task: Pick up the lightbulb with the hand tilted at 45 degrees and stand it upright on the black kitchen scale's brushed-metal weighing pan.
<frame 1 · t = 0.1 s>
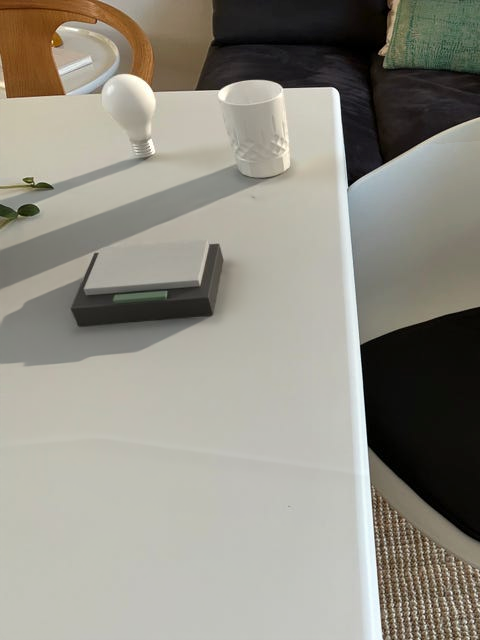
lightbulb: (146, 158, 105), on the table
white cup: (265, 167, 103), on the table
scale: (154, 291, 81), on the table
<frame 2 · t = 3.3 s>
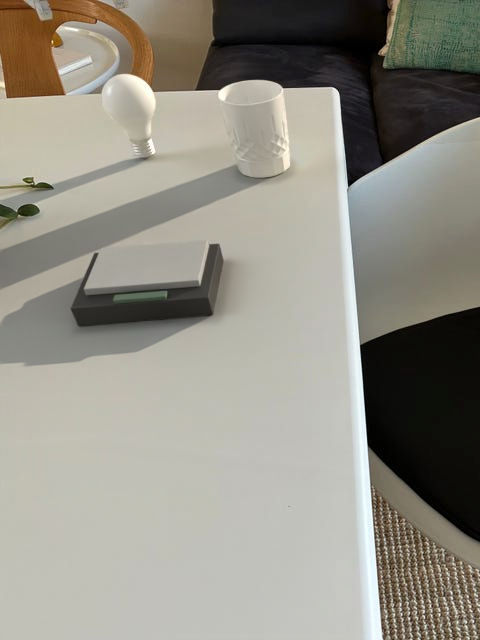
hand: (85, 11, 102), 16 cm above the table, tool tilted 45°, fingers open, 8 cm apart
nothing on the table moved.
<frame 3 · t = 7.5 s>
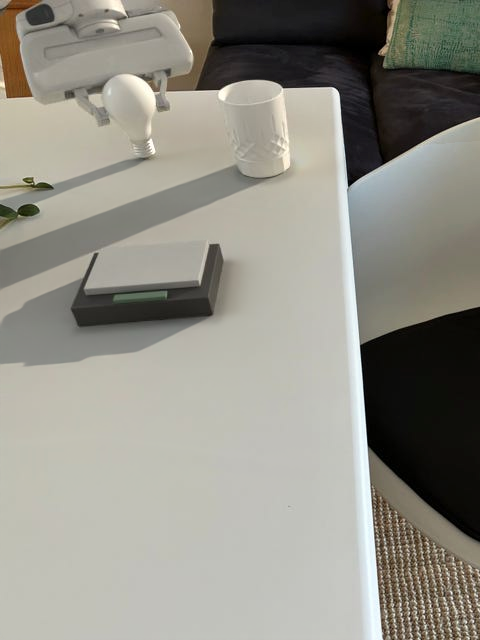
hand: (134, 116, 100), 6 cm above the table, tool tilted 45°, fingers closed on lightbulb, 6 cm apart
lightbulb: (146, 158, 105), on the table, touching gripper
everything else where it was.
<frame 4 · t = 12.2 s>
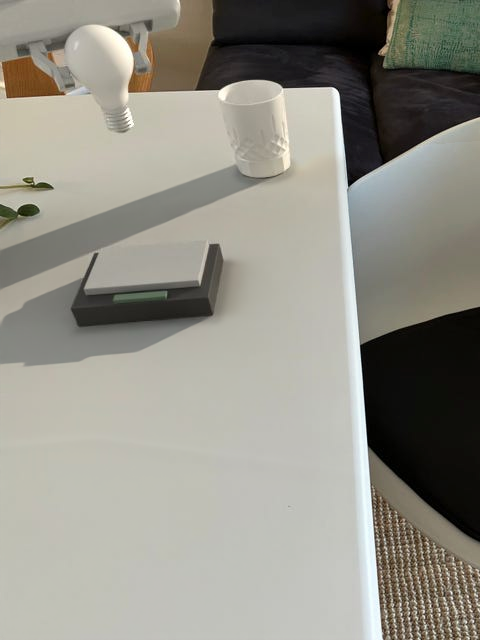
hand: (106, 79, 80), 17 cm above the table, tool tilted 45°, fingers closed on lightbulb, 6 cm apart
lightbulb: (123, 133, 84), point 11 cm above the table, touching gripper
everything else where it was.
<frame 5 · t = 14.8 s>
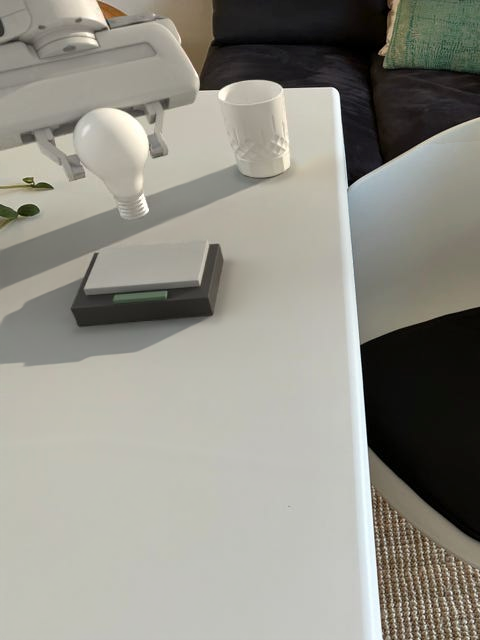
hand: (119, 166, 73), 14 cm above the table, tool tilted 45°, fingers closed on lightbulb, 6 cm apart
lightbulb: (137, 219, 77), point 8 cm above the table, touching gripper
everything else where it was.
when the fingers open (9 cm above the table, at t = 16.9 s): lightbulb stays where it is, resting on scale.
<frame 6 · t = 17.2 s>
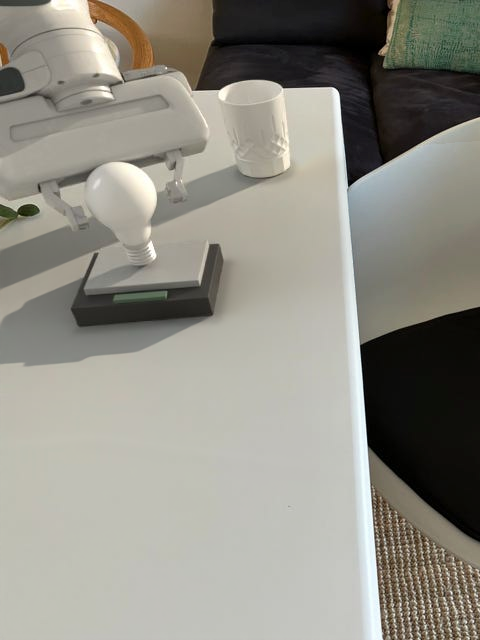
hand: (132, 213, 75), 9 cm above the table, tool tilted 45°, fingers open, 8 cm apart
lightbulb: (144, 264, 80), point 3 cm above the table, touching scale
everything else where it was.
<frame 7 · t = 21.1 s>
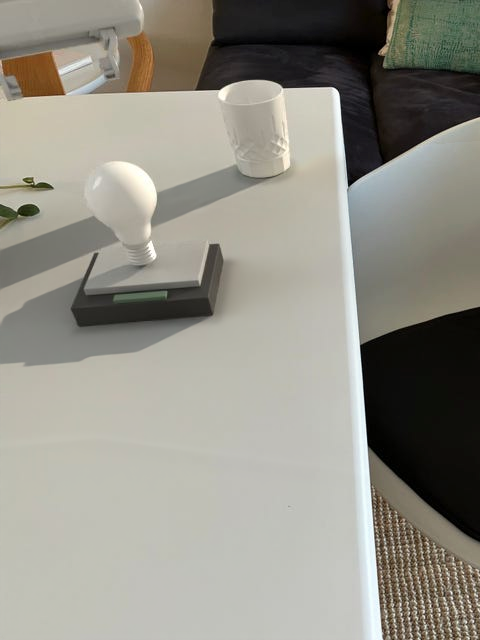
hand: (65, 87, 79), 17 cm above the table, tool tilted 45°, fingers open, 8 cm apart
nothing on the table moved.
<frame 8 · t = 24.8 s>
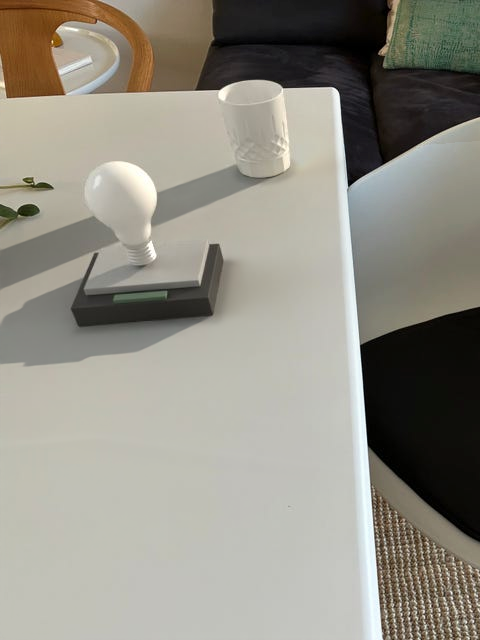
nothing on the table moved.
at the end: lightbulb inside the target area on the scale (0.4 cm from its centre), point 2.8 cm above the scale's base; lightbulb tilted 0°; the gripper is holding nothing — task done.
